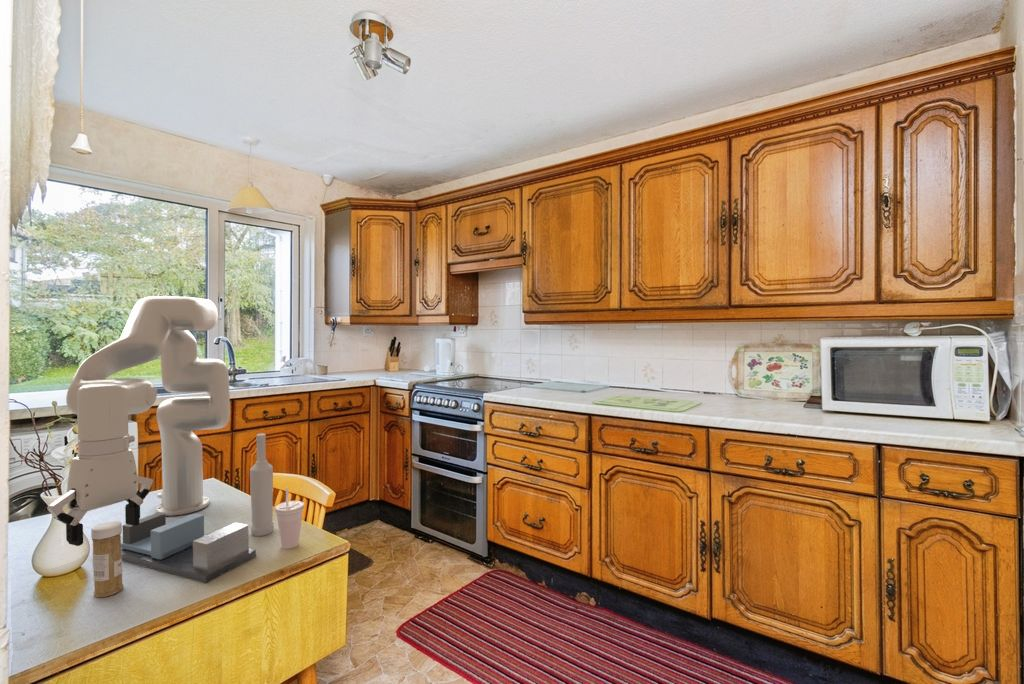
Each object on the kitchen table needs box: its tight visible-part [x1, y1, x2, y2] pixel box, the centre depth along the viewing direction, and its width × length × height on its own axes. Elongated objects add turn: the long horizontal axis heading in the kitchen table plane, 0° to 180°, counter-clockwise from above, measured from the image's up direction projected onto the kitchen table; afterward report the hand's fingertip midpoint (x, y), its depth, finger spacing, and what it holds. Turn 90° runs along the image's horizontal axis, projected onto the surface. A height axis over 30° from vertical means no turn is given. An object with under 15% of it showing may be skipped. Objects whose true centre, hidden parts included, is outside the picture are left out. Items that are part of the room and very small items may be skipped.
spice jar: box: [90, 520, 124, 598], centre depth 94 cm, size 5×5×14 cm
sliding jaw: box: [121, 512, 205, 560], centre depth 111 cm, size 14×10×6 cm
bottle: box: [249, 433, 275, 537], centre depth 121 cm, size 5×5×25 cm
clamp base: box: [121, 522, 257, 584], centre depth 108 cm, size 30×12×8 cm, turn 70°
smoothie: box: [274, 487, 305, 550], centre depth 114 cm, size 6×6×14 cm
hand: (105, 533), depth 93 cm, fingers open, 9 cm apart
